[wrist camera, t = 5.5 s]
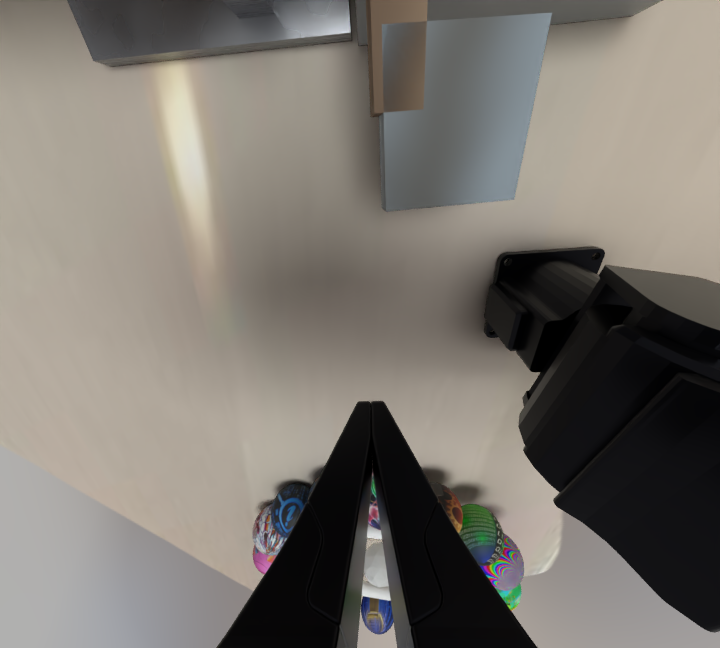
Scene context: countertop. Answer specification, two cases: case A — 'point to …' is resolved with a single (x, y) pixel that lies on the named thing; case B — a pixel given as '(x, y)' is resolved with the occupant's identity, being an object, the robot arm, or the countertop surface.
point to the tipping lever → (451, 102)
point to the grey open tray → (519, 10)
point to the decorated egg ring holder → (469, 521)
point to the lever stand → (204, 27)
